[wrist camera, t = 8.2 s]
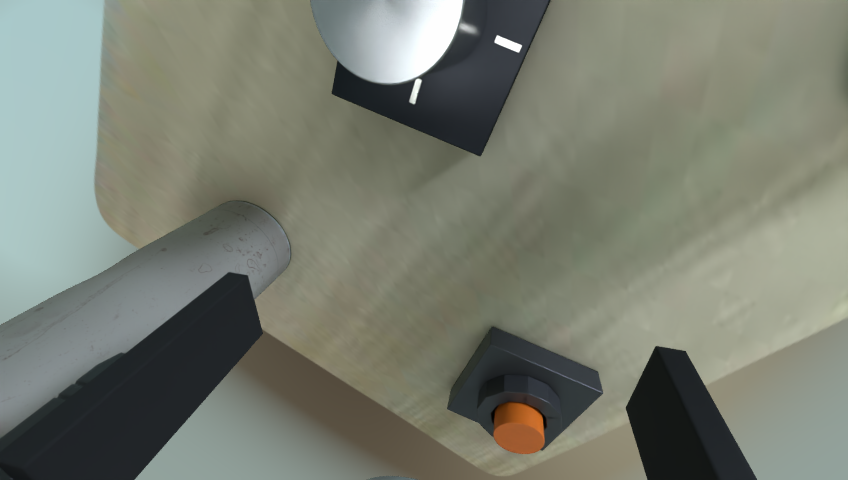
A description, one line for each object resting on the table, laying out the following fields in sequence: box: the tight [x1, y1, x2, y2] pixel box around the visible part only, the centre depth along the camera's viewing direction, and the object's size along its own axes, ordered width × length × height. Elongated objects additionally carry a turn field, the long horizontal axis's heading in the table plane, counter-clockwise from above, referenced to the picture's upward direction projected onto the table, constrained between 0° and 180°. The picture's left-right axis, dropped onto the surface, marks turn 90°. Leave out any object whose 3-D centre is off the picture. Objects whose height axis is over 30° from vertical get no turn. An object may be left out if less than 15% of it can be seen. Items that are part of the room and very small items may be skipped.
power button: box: [493, 402, 545, 454], centre depth 29 cm, size 4×4×2 cm
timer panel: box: [332, 0, 551, 156], centre depth 19 cm, size 12×10×3 cm
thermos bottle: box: [0, 201, 290, 438], centre depth 20 cm, size 8×8×28 cm
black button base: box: [447, 327, 603, 451], centre depth 32 cm, size 10×10×4 cm
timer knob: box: [310, 0, 487, 85], centre depth 14 cm, size 5×5×9 cm
